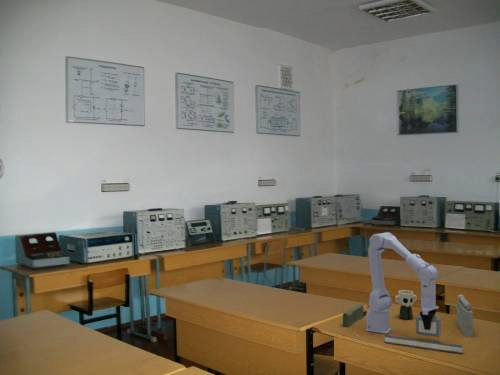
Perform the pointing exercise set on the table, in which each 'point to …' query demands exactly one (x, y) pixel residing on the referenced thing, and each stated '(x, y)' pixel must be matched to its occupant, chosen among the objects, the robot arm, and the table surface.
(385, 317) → the robot arm
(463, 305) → the geiger counter
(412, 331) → the table surface
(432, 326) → the box
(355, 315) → the handheld radio
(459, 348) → the rail
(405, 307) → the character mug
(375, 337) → the table surface
